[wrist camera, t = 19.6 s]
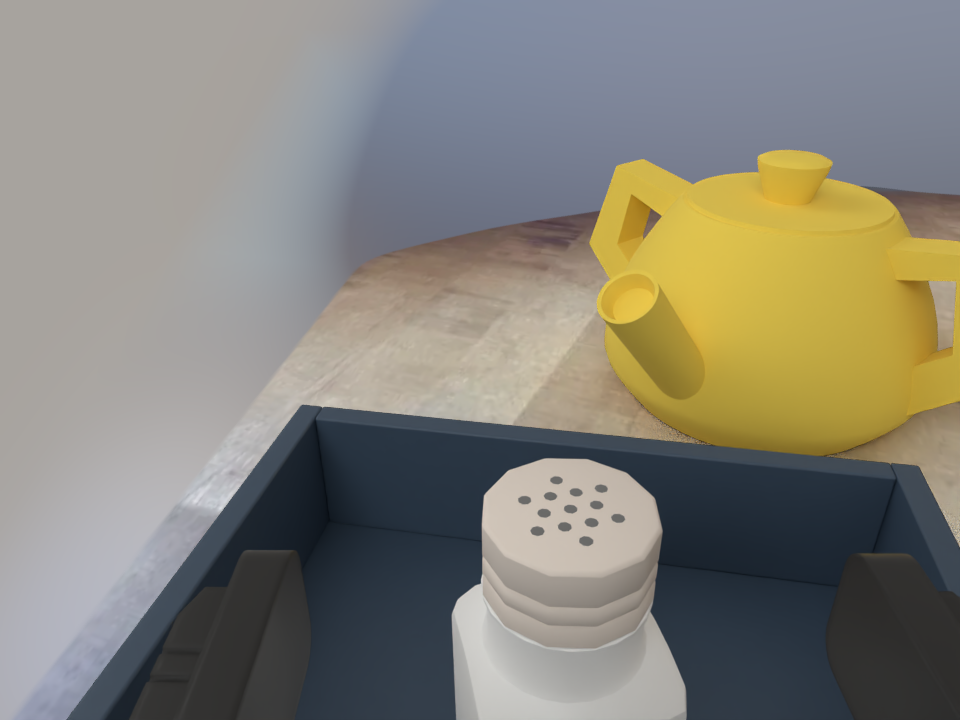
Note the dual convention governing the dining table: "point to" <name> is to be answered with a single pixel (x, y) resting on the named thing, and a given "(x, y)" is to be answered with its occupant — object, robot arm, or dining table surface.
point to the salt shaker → (565, 602)
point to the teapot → (773, 306)
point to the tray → (458, 557)
